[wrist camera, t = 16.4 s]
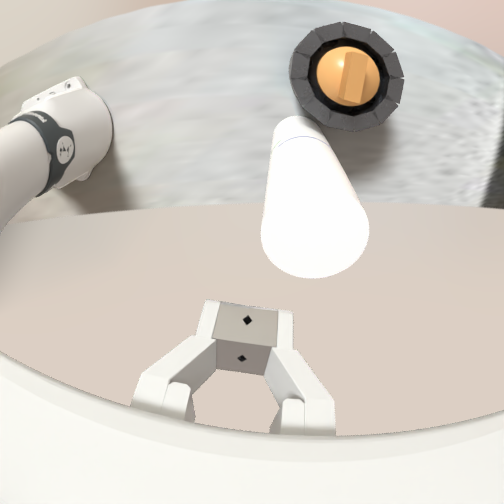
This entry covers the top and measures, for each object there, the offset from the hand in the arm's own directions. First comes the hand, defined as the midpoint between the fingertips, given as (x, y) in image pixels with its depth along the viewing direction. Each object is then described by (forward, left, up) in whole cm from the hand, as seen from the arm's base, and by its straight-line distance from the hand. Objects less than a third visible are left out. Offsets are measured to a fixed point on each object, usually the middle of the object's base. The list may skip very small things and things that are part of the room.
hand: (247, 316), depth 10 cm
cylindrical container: (+4, -2, -34) cm, 35 cm away
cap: (+7, +8, -26) cm, 28 cm away
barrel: (+7, +8, -34) cm, 36 cm away
